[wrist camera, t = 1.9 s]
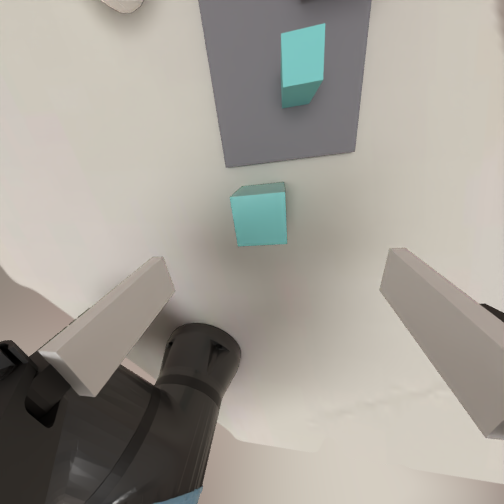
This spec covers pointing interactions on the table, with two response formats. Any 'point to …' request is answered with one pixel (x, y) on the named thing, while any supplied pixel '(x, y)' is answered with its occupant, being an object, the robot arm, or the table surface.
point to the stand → (286, 76)
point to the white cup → (123, 5)
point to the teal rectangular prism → (260, 214)
